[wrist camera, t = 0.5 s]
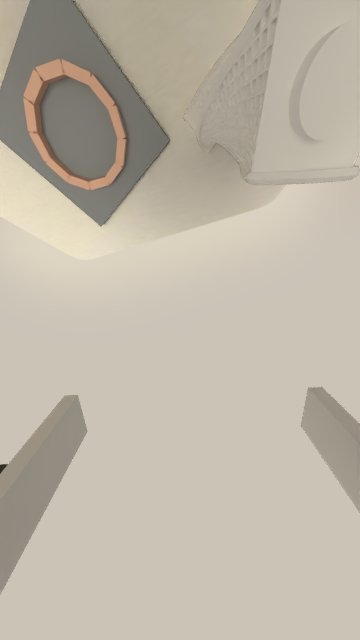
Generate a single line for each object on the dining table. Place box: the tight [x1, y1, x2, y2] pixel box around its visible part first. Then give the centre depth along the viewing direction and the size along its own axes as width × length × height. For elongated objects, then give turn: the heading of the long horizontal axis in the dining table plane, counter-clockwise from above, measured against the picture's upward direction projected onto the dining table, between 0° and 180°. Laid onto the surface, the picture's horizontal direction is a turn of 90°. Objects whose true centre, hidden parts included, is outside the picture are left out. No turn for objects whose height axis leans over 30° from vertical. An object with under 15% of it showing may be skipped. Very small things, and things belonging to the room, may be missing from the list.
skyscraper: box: [183, 0, 360, 185], centre depth 16 cm, size 8×8×28 cm
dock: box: [0, 0, 169, 226], centre depth 25 cm, size 16×16×3 cm
